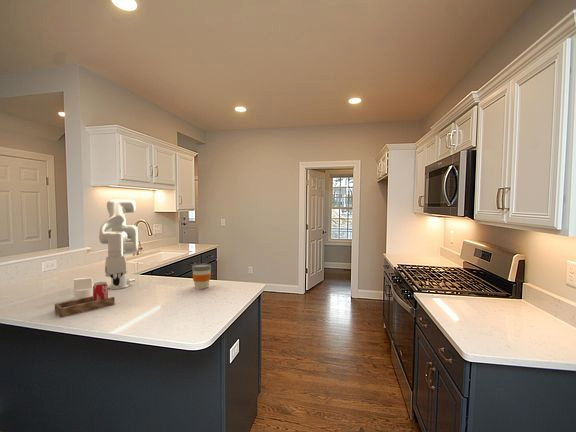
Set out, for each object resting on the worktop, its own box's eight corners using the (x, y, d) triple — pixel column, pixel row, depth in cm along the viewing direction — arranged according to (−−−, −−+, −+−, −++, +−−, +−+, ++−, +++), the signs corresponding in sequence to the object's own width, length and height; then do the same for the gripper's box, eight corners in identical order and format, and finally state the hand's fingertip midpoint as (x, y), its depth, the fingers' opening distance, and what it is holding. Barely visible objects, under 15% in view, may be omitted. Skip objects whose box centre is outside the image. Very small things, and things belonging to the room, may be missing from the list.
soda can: (100, 307, 152) (100, 285, 151) (89, 306, 153) (89, 284, 153) (111, 302, 158) (110, 281, 158) (100, 301, 160) (100, 281, 160)
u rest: (107, 299, 163) (107, 293, 163) (114, 304, 156) (114, 297, 156) (54, 311, 145) (54, 303, 145) (60, 317, 137) (60, 309, 137)
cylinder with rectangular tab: (72, 301, 160) (72, 281, 160) (76, 297, 168) (75, 277, 168) (91, 299, 164) (91, 279, 164) (94, 295, 172) (93, 276, 172)
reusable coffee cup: (188, 288, 187) (187, 266, 186) (200, 283, 198) (200, 262, 198) (203, 290, 182) (203, 267, 182) (215, 285, 194) (214, 264, 193)
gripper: (127, 251, 169) (127, 281, 170) (98, 254, 158) (99, 286, 158) (132, 252, 164) (132, 283, 165) (103, 256, 153) (103, 289, 153)
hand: (116, 285), depth 162 cm, fingers closed
